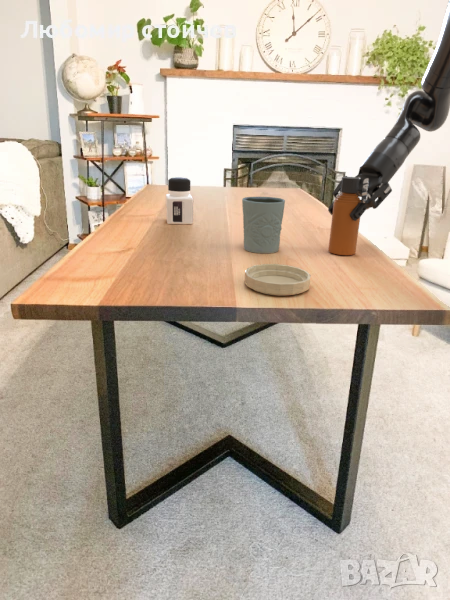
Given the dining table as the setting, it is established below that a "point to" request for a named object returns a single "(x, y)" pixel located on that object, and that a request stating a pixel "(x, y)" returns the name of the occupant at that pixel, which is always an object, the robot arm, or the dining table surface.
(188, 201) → the container
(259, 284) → the dish
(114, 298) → the dining table surface
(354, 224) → the bottle
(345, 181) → the cap
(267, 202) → the grey blue embossed cup
